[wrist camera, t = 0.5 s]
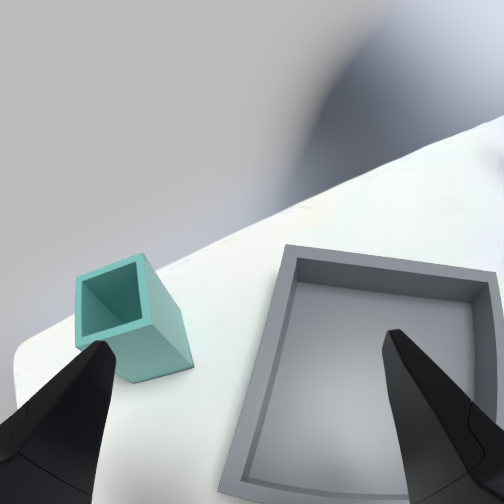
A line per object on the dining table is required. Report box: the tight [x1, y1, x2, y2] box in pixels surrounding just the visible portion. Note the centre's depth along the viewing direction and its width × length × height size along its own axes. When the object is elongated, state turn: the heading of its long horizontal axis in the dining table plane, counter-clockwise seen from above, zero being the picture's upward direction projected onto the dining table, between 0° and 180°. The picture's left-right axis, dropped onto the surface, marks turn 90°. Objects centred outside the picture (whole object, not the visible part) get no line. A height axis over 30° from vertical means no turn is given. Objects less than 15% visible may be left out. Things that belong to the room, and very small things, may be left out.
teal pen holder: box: [75, 253, 194, 384], centre depth 23 cm, size 6×6×9 cm
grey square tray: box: [217, 244, 504, 504], centre depth 20 cm, size 20×20×4 cm
